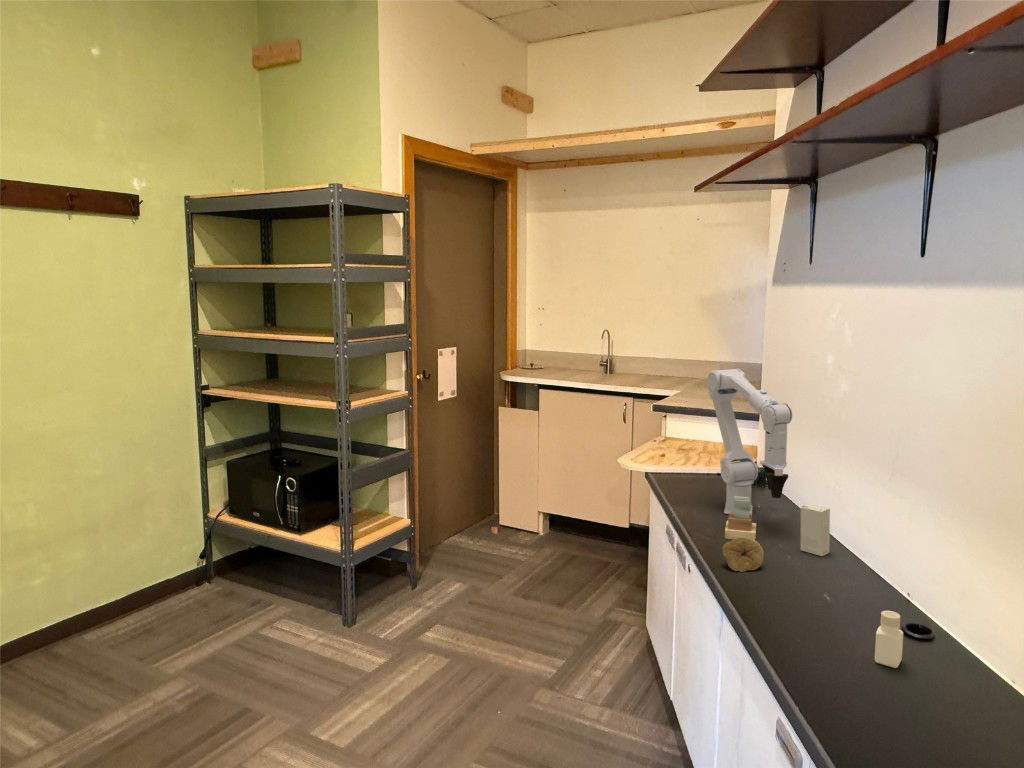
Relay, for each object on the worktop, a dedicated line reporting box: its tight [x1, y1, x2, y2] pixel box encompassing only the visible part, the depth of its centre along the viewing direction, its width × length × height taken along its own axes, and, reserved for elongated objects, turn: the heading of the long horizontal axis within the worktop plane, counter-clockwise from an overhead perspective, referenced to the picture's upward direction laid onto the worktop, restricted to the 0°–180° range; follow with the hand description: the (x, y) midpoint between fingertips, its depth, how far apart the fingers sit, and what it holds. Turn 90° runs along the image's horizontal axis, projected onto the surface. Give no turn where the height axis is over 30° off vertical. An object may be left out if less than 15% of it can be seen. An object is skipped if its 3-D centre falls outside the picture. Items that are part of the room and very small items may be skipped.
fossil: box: [722, 537, 765, 573], centre depth 179 cm, size 9×4×10 cm
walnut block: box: [727, 512, 753, 531], centre depth 199 cm, size 6×6×3 cm
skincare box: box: [800, 503, 831, 557], centre depth 186 cm, size 6×4×12 cm
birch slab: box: [724, 520, 757, 541], centre depth 200 cm, size 8×8×3 cm
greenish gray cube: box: [734, 496, 750, 519], centre depth 199 cm, size 4×4×5 cm
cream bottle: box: [874, 610, 904, 669], centre depth 133 cm, size 4×4×10 cm
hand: (774, 493), depth 202 cm, fingers open, 7 cm apart
